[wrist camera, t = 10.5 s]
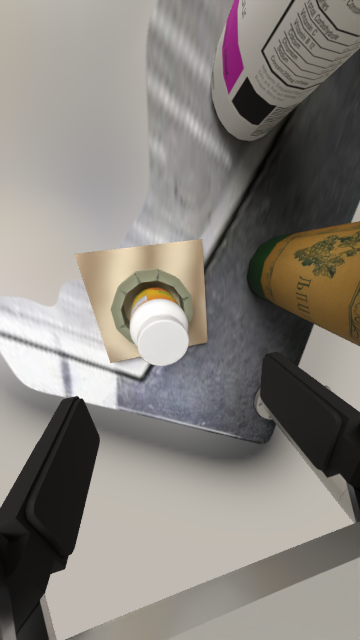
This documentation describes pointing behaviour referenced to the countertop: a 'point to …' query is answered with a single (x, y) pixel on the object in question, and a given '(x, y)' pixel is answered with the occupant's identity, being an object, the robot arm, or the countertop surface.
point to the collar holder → (133, 276)
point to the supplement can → (278, 58)
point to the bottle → (313, 277)
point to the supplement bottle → (158, 326)
